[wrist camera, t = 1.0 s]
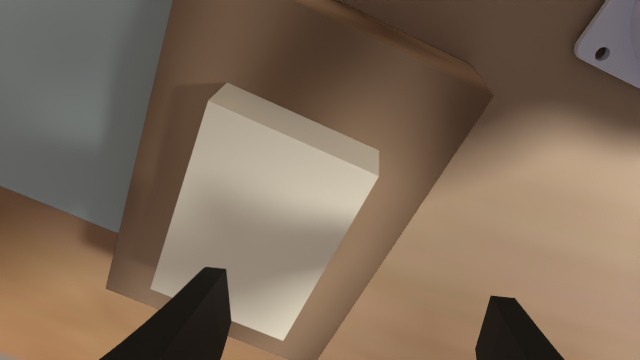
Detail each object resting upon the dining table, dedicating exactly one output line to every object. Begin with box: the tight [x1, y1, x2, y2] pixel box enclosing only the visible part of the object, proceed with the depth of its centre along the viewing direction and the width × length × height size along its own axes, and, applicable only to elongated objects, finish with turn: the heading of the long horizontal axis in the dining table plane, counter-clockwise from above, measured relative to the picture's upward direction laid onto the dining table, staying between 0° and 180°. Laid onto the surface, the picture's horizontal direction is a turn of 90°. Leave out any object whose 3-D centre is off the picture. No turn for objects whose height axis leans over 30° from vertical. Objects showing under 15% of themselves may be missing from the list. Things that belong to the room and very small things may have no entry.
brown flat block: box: [106, 0, 494, 360], centre depth 20 cm, size 11×16×4 cm
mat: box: [0, 0, 173, 233], centre depth 20 cm, size 14×16×1 cm
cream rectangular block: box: [150, 83, 379, 341], centre depth 17 cm, size 6×9×2 cm, turn 157°
